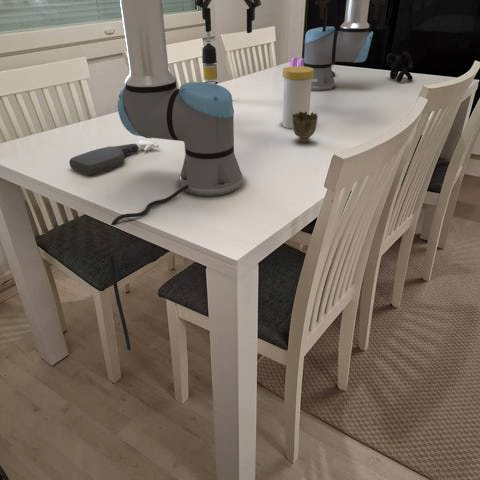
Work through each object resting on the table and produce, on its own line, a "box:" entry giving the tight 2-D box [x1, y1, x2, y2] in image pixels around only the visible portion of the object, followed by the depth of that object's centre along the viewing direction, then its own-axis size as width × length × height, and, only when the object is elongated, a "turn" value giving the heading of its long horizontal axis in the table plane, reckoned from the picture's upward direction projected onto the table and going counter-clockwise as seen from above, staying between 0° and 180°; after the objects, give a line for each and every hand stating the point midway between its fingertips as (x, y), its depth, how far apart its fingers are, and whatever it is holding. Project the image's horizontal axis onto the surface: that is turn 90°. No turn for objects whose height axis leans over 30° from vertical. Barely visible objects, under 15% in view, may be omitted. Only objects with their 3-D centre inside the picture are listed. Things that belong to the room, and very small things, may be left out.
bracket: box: [290, 56, 304, 67], centre depth 217 cm, size 13×6×7 cm, turn 143°
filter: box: [201, 31, 219, 85], centre depth 171 cm, size 6×6×30 cm
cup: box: [292, 111, 319, 144], centre depth 132 cm, size 8×7×8 cm
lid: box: [282, 65, 314, 80], centre depth 140 cm, size 10×10×2 cm
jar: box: [282, 78, 312, 130], centre depth 144 cm, size 9×9×17 cm
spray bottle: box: [68, 139, 160, 177], centre depth 124 cm, size 3×11×24 cm
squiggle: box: [385, 51, 414, 83], centre depth 198 cm, size 11×10×15 cm
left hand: (228, 32), depth 139 cm, fingers open, 13 cm apart
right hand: (346, 31), depth 135 cm, fingers open, 13 cm apart
